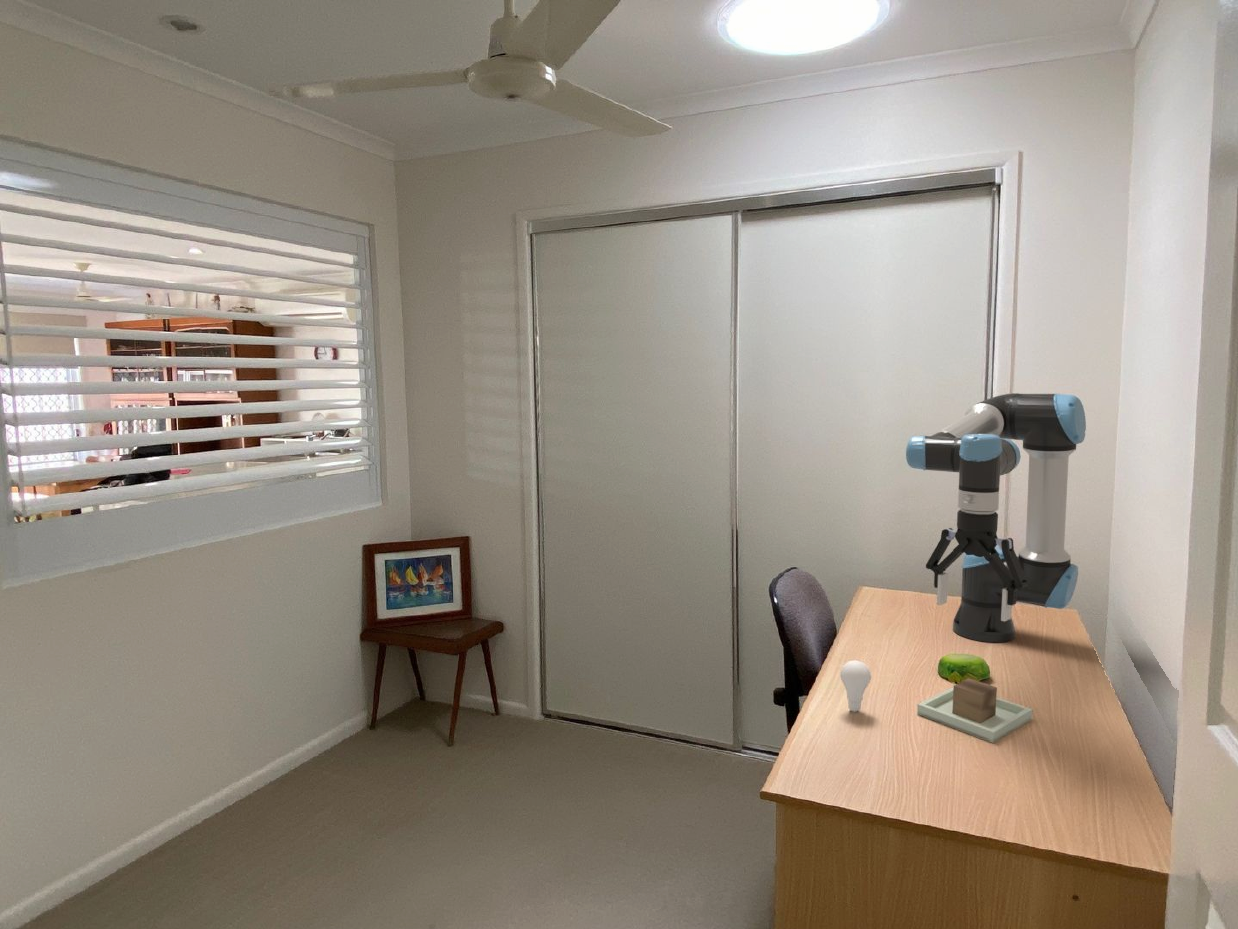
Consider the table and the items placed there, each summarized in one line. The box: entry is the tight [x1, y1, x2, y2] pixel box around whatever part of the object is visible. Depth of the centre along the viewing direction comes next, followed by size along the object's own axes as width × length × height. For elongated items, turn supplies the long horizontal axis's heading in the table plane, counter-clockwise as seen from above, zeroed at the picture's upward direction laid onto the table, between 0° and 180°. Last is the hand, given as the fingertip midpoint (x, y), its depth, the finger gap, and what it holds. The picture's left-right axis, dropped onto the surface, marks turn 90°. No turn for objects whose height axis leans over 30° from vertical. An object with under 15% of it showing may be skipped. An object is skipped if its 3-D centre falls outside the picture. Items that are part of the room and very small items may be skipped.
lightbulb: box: [839, 660, 872, 713], centre depth 163 cm, size 6×6×11 cm
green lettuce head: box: [937, 653, 991, 684], centre depth 182 cm, size 12×11×5 cm
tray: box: [916, 686, 1034, 744], centre depth 161 cm, size 16×16×2 cm
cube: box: [952, 678, 998, 724], centre depth 161 cm, size 6×6×6 cm
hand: (972, 611), depth 161 cm, fingers open, 13 cm apart
